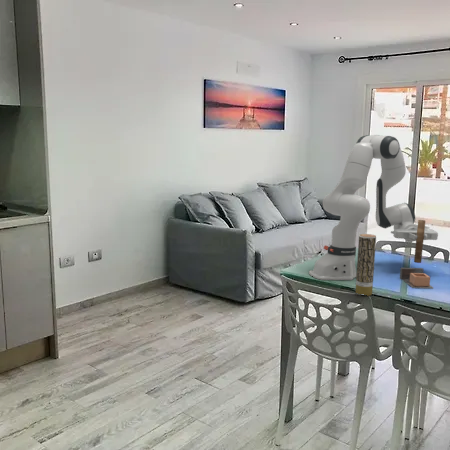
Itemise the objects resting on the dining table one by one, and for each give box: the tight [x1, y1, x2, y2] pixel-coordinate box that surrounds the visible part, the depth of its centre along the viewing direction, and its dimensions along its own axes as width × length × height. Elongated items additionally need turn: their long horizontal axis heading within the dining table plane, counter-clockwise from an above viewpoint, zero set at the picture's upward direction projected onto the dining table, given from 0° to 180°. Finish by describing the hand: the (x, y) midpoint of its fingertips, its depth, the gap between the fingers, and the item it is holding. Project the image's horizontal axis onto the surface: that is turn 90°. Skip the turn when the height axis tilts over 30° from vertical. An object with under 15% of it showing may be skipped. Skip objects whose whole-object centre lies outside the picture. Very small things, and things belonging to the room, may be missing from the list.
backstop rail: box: [399, 267, 434, 290], centre depth 229 cm, size 16×10×5 cm, turn 179°
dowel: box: [413, 219, 426, 264], centre depth 238 cm, size 3×3×20 cm
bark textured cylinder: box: [355, 233, 377, 297], centre depth 209 cm, size 7×7×25 cm
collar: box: [409, 272, 431, 286], centre depth 225 cm, size 7×7×4 cm
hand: (420, 237), depth 237 cm, fingers closed on dowel, 3 cm apart
